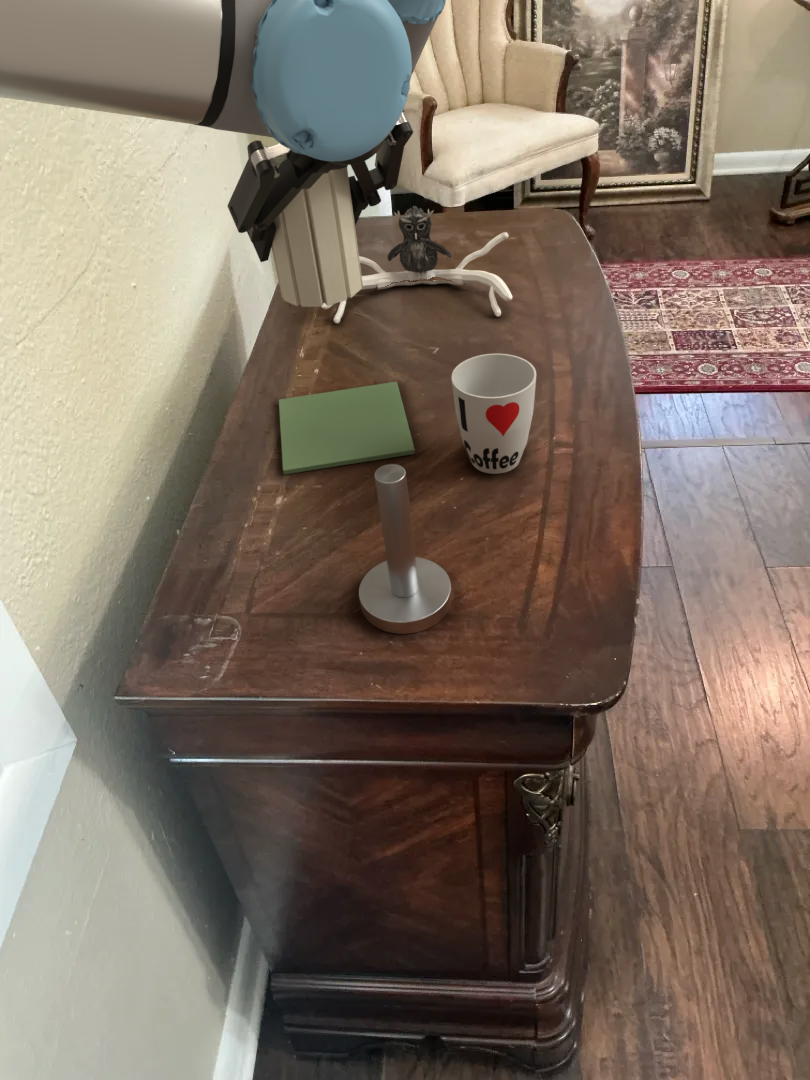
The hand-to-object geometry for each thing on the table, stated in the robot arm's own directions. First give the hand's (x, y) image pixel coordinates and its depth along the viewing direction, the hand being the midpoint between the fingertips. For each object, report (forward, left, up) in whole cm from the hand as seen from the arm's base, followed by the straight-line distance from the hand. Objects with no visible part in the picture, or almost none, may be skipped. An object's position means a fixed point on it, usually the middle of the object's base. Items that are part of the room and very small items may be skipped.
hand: (301, 235), depth 84 cm
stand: (+4, -31, -21) cm, 38 cm away
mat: (+1, -3, -21) cm, 21 cm away
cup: (+16, -13, -21) cm, 29 cm away
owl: (+14, +25, -21) cm, 36 cm away
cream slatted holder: (+1, -3, -4) cm, 5 cm away
